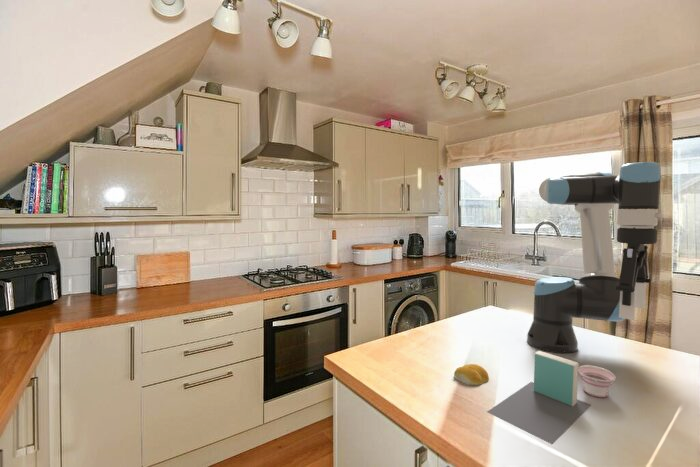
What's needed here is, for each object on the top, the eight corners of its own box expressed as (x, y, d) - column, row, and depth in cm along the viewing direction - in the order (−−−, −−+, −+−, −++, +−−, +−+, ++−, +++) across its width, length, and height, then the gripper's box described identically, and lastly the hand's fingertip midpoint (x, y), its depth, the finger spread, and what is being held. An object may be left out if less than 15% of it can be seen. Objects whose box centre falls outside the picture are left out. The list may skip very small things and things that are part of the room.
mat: (487, 414, 79) (487, 411, 79) (531, 383, 93) (531, 381, 93) (552, 446, 68) (552, 444, 68) (591, 407, 82) (591, 404, 82)
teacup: (628, 415, 79) (629, 389, 78) (566, 400, 85) (567, 376, 84) (620, 391, 89) (621, 368, 88) (566, 379, 95) (566, 358, 95)
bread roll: (494, 381, 95) (494, 367, 94) (473, 390, 90) (473, 376, 90) (469, 369, 102) (469, 356, 101) (448, 378, 97) (448, 364, 96)
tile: (533, 391, 88) (534, 353, 87) (537, 387, 90) (539, 350, 89) (572, 406, 81) (574, 365, 80) (576, 402, 82) (578, 362, 82)
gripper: (647, 229, 72) (642, 328, 74) (665, 225, 88) (660, 306, 90) (604, 228, 78) (600, 319, 79) (628, 224, 94) (624, 300, 96)
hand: (632, 312), depth 85 cm, fingers open, 13 cm apart
